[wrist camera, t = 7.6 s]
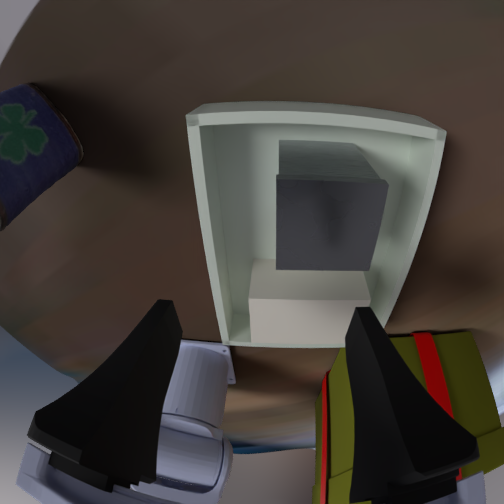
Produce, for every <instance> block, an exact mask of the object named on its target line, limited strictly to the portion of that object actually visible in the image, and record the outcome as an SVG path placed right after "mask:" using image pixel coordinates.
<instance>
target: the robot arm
mask: <svg viewBox="0 0 504 504" xmlns="http://www.w3.org/2000/svg"><path fill="white" fill-rule="evenodd" d="M182 332H183V331H182V328H181V325H180V322H179V319H178V316H177V313H176V310H175V307H174V304H173V301H172V300H161V299H159V300H157V302H156V303H155V304H154V305H153V306H152V308H151V309H150V310H149V311H148V313H147V314H146V315H145V316H144V317H143V319H142V320H141V321H140V322H139V324H138V325H137V326H136V327H135V328H134V330H133V331H132V332H131V333H130V334H129V335H128V337H127V338H126V339H125V340H124V341H123V342H122V344H121V345H120V346H119V347H118V348H117V349H116V350H115V351H114V352H113V353H112V354H111V355H110V356H109V357H108V359H107V360H106V361H105V362H103V363H102V364H101V365H100V366H99V367H98V368H97V369H96V370H95V371H94V372H93V373H92V374H90V375H89V376H88V377H87V378H86V379H85V380H83V381H82V382H81V383H80V384H78V385H77V386H76V387H74V388H73V389H72V390H70V391H69V392H67V393H66V394H64V395H63V396H62V397H60V398H59V399H57V400H56V401H54V402H52V403H50V404H49V405H47V406H45V407H43V408H42V409H40V410H38V411H36V413H35V415H34V418H33V420H32V423H31V426H30V428H29V431H28V434H27V436H28V437H29V438H30V439H32V440H33V441H35V442H37V443H39V444H40V445H42V446H44V447H46V448H47V449H49V450H51V451H52V452H51V454H48V453H46V452H45V451H43V450H41V449H40V448H38V447H36V446H34V445H32V444H31V443H27V446H26V449H25V452H24V455H23V458H22V462H21V465H20V469H19V473H18V477H17V481H16V485H17V486H18V487H20V488H21V489H23V490H24V491H25V492H27V493H28V494H29V495H31V496H32V497H33V498H35V499H36V500H37V501H39V502H40V503H42V504H216V503H218V502H219V499H220V498H221V497H222V493H223V490H224V486H225V484H226V482H227V481H228V478H229V475H230V472H231V468H232V461H233V449H232V446H231V444H230V443H229V440H228V439H227V438H225V437H223V431H224V430H221V429H220V425H221V423H222V420H223V414H224V407H225V401H226V394H227V387H228V384H235V383H236V378H235V373H234V368H233V362H232V357H231V352H230V346H229V345H223V343H213V342H201V341H191V340H181V338H182ZM345 351H346V363H347V369H348V375H349V382H350V388H351V394H352V401H353V409H354V458H353V471H352V479H351V487H350V493H349V504H351V503H359V502H365V501H371V504H486V496H485V483H484V474H483V471H480V472H477V473H475V474H472V475H470V476H468V477H466V478H463V479H461V480H457V481H456V477H457V476H459V474H460V473H459V468H461V467H463V466H465V465H468V464H470V463H472V462H474V461H476V460H478V459H479V457H480V454H479V447H478V442H477V438H476V437H475V436H474V435H472V434H471V433H470V432H469V431H467V430H466V429H465V428H464V427H462V426H461V425H460V424H459V423H458V422H456V421H455V420H454V419H453V418H452V417H451V416H450V415H449V414H448V413H447V412H446V411H445V410H444V409H443V408H442V407H441V406H440V405H439V404H438V403H437V402H436V401H435V400H434V399H433V397H432V396H431V395H430V394H429V393H428V392H427V390H426V389H425V388H424V387H423V386H422V384H421V383H420V382H419V381H418V379H417V378H416V377H415V375H414V374H413V373H412V371H411V370H410V368H409V367H408V366H407V364H406V363H405V361H404V360H403V358H402V357H401V355H400V354H399V352H398V351H397V349H396V348H395V346H394V345H393V343H392V342H391V340H390V338H389V337H388V335H387V333H386V332H385V330H384V329H383V327H382V325H381V323H380V322H379V320H378V318H377V317H376V315H375V313H374V312H373V310H372V308H371V307H355V310H354V313H353V316H352V319H351V322H350V325H349V328H348V330H347V333H346V336H345ZM156 476H158V477H156ZM160 477H162V478H160ZM164 478H165V479H164ZM168 479H169V480H168ZM172 480H174V481H172ZM176 481H178V482H176ZM180 482H182V483H180ZM185 483H187V484H185ZM190 484H192V485H190ZM130 486H131V487H132V488H133V490H131V489H130Z"/></svg>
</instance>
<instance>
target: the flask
mask: <svg viewBox="0 0 504 504" xmlns="http://www.w3.org/2000/svg"><path fill="white" fill-rule="evenodd" d="M83 154H84V153H83V149H82V145H81V144H80V141H79V139H78V137H77V136H76V134H75V132H74V131H73V129H72V128H71V125H70V124H69V123H68V121H67V119H66V118H65V117H64V115H62V114H61V112H60V110H58V109H57V108H56V107H55V106H54V105H53V103H52V102H51V101H50V100H49V99H48V98H47V96H45V95H44V94H43V92H42V91H40V90H39V88H38V87H37V86H35V85H33V84H31V83H30V84H29V83H26V84H20V85H18V86H16V87H13V88H10V89H8V90H5V91H3V92H1V93H0V231H2V230H4V229H5V228H6V226H8V225H9V224H10V223H11V221H12V220H13V219H14V218H16V217H17V216H18V215H19V214H20V213H21V212H22V211H23V210H24V209H25V208H26V207H27V206H28V205H29V204H30V203H32V202H33V201H34V200H35V199H36V198H37V197H38V196H39V195H41V194H42V193H43V192H44V191H46V190H47V189H48V188H50V187H51V186H52V185H53V184H54V183H55V182H56V181H58V180H59V179H61V178H62V177H64V176H65V175H66V174H67V173H68V172H70V171H72V170H73V169H74V168H75V167H76V166H77V164H78V163H79V162H80V161H81V160H82V158H83Z"/></svg>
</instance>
